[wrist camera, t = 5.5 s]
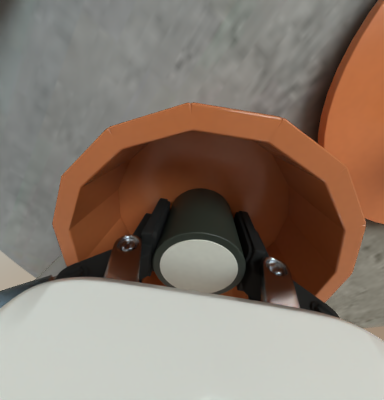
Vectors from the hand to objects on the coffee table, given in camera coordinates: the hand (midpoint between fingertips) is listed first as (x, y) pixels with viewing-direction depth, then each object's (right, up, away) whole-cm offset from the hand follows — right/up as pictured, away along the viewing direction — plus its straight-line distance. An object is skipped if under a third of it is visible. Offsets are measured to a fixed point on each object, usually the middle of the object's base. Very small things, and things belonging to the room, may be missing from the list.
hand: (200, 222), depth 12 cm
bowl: (0, +1, +1) cm, 1 cm away
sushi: (0, 0, +1) cm, 1 cm away
